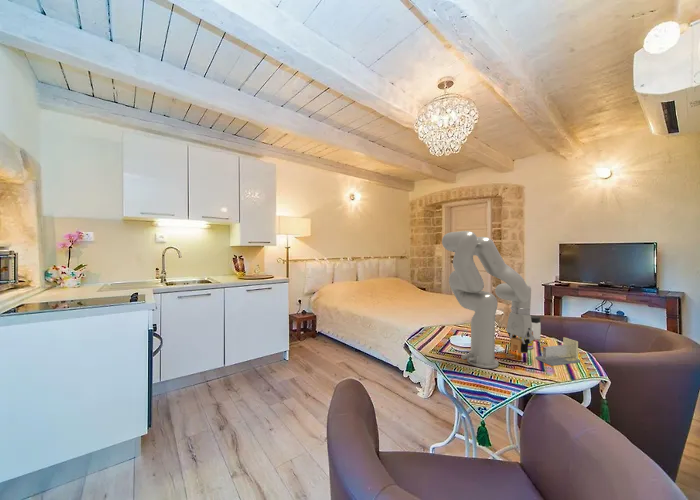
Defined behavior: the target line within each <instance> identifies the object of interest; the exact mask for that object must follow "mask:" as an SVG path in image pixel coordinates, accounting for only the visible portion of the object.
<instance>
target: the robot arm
mask: <svg viewBox="0 0 700 500" xmlns="http://www.w3.org/2000/svg"><path fill="white" fill-rule="evenodd" d="M441 244H442V247H443V248H444V249H445V250H446V251H449V252H452V253H454V255H453V259H452V266H453V269H454V270H453V271H452V272H451V273H450V274H449V276H448V284H449V287H450V289H451V291H452V293H453V295H454V297H455V298H456V300H457V302H458V304H459V305H460V306H461V307H462V308H464V309H465V310H469V311H473V312H474V313H473V315H472V317H471V320H470V351H468V353H467V354H461V356H460V357H461V359H462V360H466V361H467V363H468V364H470V365H471V366H474V367H477V368H482V369H496V368H498V367H499V361H498V360H497V359H495V358H496V357H495V356H496V355H495V351H496V349H495V348H496V347H495V345H496V344H495V342H496V341H495V339H496V337H495V335H496V334H495V333H496V330H495V326H496V325H495V324H496V323H495V322H496V314H497V309H498V299H497V297H498V298H500V299H501V300H505V301H511V307H510V309H511V311H510V312H509V315H508V318H507V326H506V329H505V331H506V333H507V335H508V336H509V340H510V343H509V344H510V346H509V348H511V338H518V336H519V337H521V338H522V343H521V352H522V353H521V354H526V353H525V352H527V353H528V351H529V349H528V344H529V343H530V342H531V341H533V342H534V339H535V338H534V336H533V335H532V321H531V316H530V315H531V305H532V304H531V299H532V288H531V286H530V285H528V284H527V283H526V281H525V279H524V278H523V277H522V275H521V274H520V273H519V272H517V271H516V270H515V269H513V268H512V267H511V266H510V265H508V264H506V262H505V261H504V259H503V257H502V255H501V254H500V252H499V250H498V248H497V245H496V244H495V242H494V241H493V240H492V239H491V238H490V237H487V236H477V235H476V234H475V232H473V231H469V230H461V231H451V232H447V233H445V234H444V235H443V236H442V239H441ZM474 256H475V257H477V258H478V259H479V262H480V263H481V265H482V266H483V268H484V270H485V272H486V273H488V274H489V275H490V276H492V277H494V278H497V279H499V280H501V281H503V283H499V284H497V286H496V287H495V291H494V292H495V295H494V294H493V293H491V292H488V291H484V290H483V289H484V286H485V283H484V282H485V281H484V280H483V277H482V275H481V273H480V272H479V269H478V267H477V266H476V264H475V263H476V262H475V261H474ZM496 296H497V297H496ZM528 337H529V338H528ZM525 338H526V340H525Z"/></svg>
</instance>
